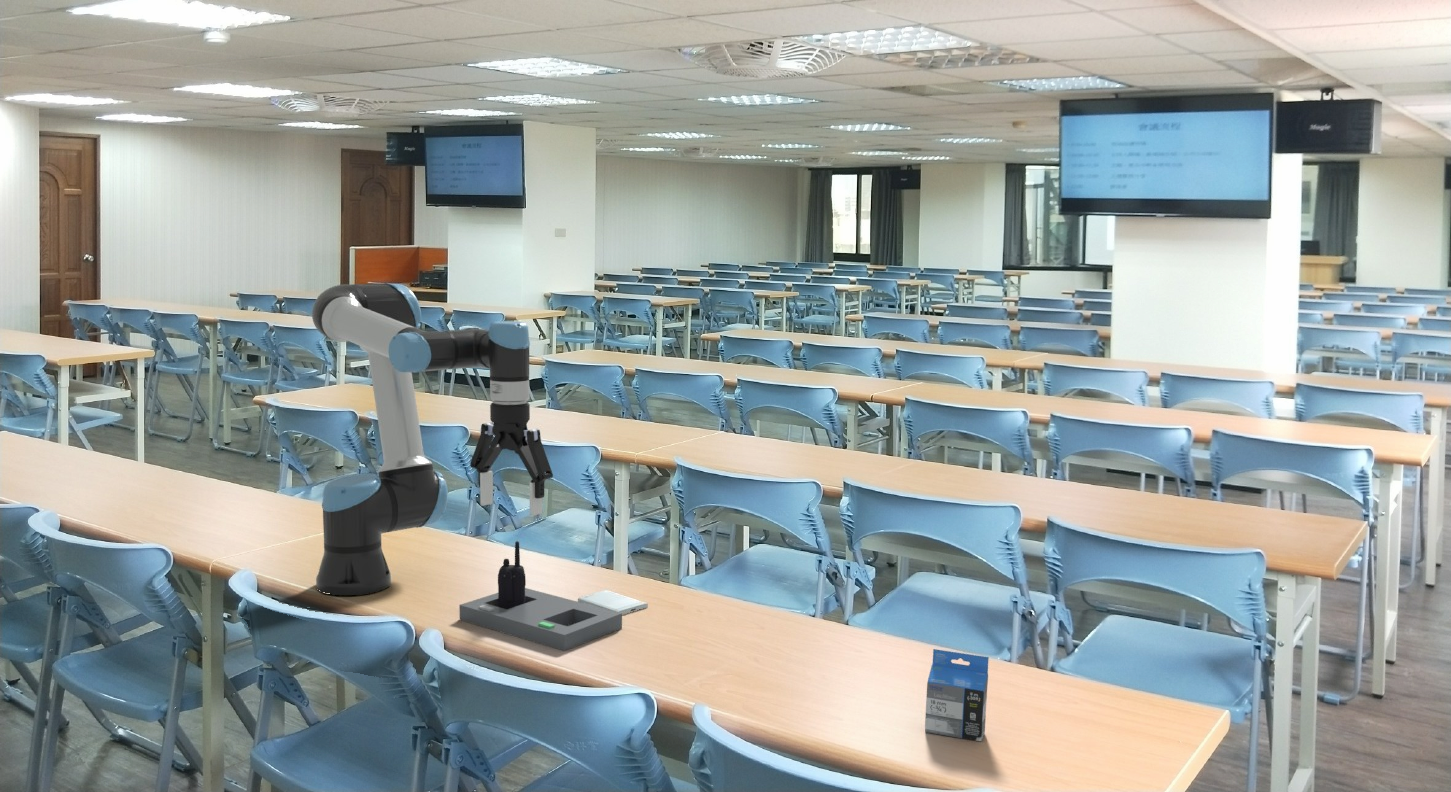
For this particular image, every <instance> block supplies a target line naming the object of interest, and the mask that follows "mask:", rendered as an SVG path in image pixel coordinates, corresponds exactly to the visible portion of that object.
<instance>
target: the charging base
mask: <svg viewBox="0 0 1451 792" xmlns="http://www.w3.org/2000/svg"><path fill="white" fill-rule="evenodd" d="M459 620H460V621H462V620H463V622H466V623H469V624H472V623H473V624H472V625H476V626H479V627H482V628H483V627H484V628H487V629H490V630H493V631H497V632H499V633H503V634H507V635H509V636H514V637H517V638H520V639H523V640H525V641H526V640H527V641H530V642H534V643H537V644H539V645H540V644H541V645H543V646H547V647H551V648H553V649H557V650H561V651H562V652H563V651H564V652H565V651H567V650H571V649H573V648H575V647H578V646H581V645H583V644H586V643H588V642H591V641H594V640H596V639H599V638H601V637H604V636H606V635H608V633H609V634H611V633H613V631H614V632H616V631H619V630H621V628H623V615H622V613H619V612H615V611H611V610H608V609H604V608H600V607H596V606H592V605H588V604H585V603H581V602H578V600H577V601H576V600H572V599H569V598H566V597H562V596H561V597H560V596H557V595H554V594H550V593H546V592H542V591H539V590H535V589H532V588H528V587H527V588H526V587H525V604H522V605H519V606H516V607H513V608H510V609H503V608H500V607H499V601H498V592H496V593H493V594H489V595H486V596H484V597H480V598H477V599H474V600H471V601H468V602H465V603H461V604H459Z"/></svg>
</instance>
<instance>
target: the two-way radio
mask: <svg viewBox="0 0 1451 792" xmlns="http://www.w3.org/2000/svg"><path fill="white" fill-rule="evenodd" d="M520 555H521V554H520V542H519V541H517V540H516V541H515V543H514V564H510V559H509V558H504V559H503V563H502V564H503V565H501V566H500V568H499V570H498V575H497V588H498V589H497V591H498V592H497V593H498V601H499V607H500V608H503V609H510V608H513V607H516V606H519V605H522V604H525V588H526V582H527V581H526V573H525V567H524V566H523V565H521V560H520V559H521V558H520V557H521V556H520Z"/></svg>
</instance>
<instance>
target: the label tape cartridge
mask: <svg viewBox="0 0 1451 792" xmlns="http://www.w3.org/2000/svg"><path fill="white" fill-rule="evenodd" d="M932 651H933V652H932V664H931V666H930V670H929V674H928V679H927V682H926V683H927V684H926V700H925V721H924V722H925V724H924V727H925V729H924V730H925V731H924V732H925V733H928V734H934V735H935V734H936V735H941V736H947V737H951V738H952V737H953V738H959V739H964V740H969V741H974V742H980V741H981V742H982V741H983V738H984V735H985V732H986V719H987V717H986V716H987V715H986V714H987V699H988V683H989V656H983V655H978V654H977V655H975V654H968V653H962V652H957V651H956V652H955V651H949V650H944V649H943V650H942V649H937V648H936V649H935V648H933V650H932ZM953 660H954V661H959V660H962V661H963V662H966V663H967V662H968V663H969V664H968V665H967V664H961V663H955V662H952V661H953Z"/></svg>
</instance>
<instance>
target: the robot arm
mask: <svg viewBox="0 0 1451 792" xmlns="http://www.w3.org/2000/svg"><path fill="white" fill-rule="evenodd" d="M311 318H312V321H313V325H314V327H315V328H316V330H317V331H318V332H319V333H320V334H321V335H323V336H324V337H326V338H329V339H330V340H333V341H334V342H339V343H344V342H350V343H353V344H355V345H357V346H359V348H360V350H361V351H363V352H365V353H366V354H367V356H368V363H369V371H370V375H371V376H370V377H371V382H372V389H373V396H374V402H375V404H374V405H375V410H376V417H377V423H378V430H379V437H380V444H381V451H382V458H383V464H382V465H381V467H380V468H379V469H378V471H377V472H378V473H372V472H363V473H362V472H361V473H358V474H357V473H353V474H348V475H346V474H345V475H344V476H340V477H337V478H335V479H332V480H330V481H329V482H328V483H327V484H326V485H325V486H324V487H323V491H322V501H321V507H322V523H323V526H322V527H323V548H324V549H323V550H324V551H323V556H322V559H321V561H320V566H319V569H318V574H316V581H315V583H316V586H315V588H316V587H317V588H316V590H317V589H318V590H320V591H321V592H325V593H330V594H332V595H331V596H335V595H356V596H362V595H364V594H365V595H369V593H370V594H374V592H375V593H377V592H378V593H379V592H380V590H381V591H383V590H386V589H387V588H389V587H390V586H391V582H392V581H391V580H392V578H391V577H392V576H391V571H390V569H389V565H388V563H387V559H386V557H385V555H384V552H383V548H382V534H386V533H391V532H397V531H402V530H408V529H413V528H417V529H418V528H422V527H425V526H428V525H433V524H435V523H437V522H439V521H440V520H441V518H442V517H443V515H444V512H445V511H446V508H447V506H448V499H449V497H448V494H449V492H448V485H447V482H446V479H444V476H443V474H442V473H441V472H440V471H437V470H434V467H433V462H432V461H431V460H429V459H428V458H426V456H425V453H424V447H423V441H422V440H423V439H422V433H421V426H420V425H421V424H420V421H419V413H418V405H417V399H416V392H415V387H414V381H413V374H418V373H421V372H432V371H445V370H459V369H470V368H471V369H473V368H482V369H484V368H485V369H489V384H490V385H489V392H490V395H489V398H490V400H491V401H493V402H491V403H490V405H489V412H490V413H489V416H490V422H486V423H482V424H481V425H480V436H479V438H478V441H477V443H476V446H475V449H474V452H473V455H472V458H471V460H470V463H469V464H470V465H469V466H470V468H472V469H473V468H474V469H475V470H476V471H477V474H478V476H477V477H478V487H479V488H480V490H479V494H480V495H479V497H480V498H479V501H480V506H482V507H483V506H488V505H492V504H493V505H494V471H492V470H493V468H492V466H493V465H494V463H495V461H496V460H497V459H498V457H499V455H500V454H501V452H502V451H503V450H509V451H512V452H514V453H515V454H517V455H518V456H519V459H520V460H521V462H522V464H523V466H524V467H525V469H526V470H527V472H528V474H529V476H530V477H531V480H530V481H529V484H528V485H529V516H531V517H533V516H537V515H541V514H543V498H545V482H546V480H549V479H552V478H553V477H554V475H553V471H552V468H551V466H550V462H549V459H548V457H547V454H546V451H545V449H544V446H543V443H542V438H541V430H540V429H539V428H533V429H528V425H527V424H528V422H529V421H530V417H531V416H530V415H531V414H530V412H531V411H530V409H531V407H530V403H529V402H528V401H529V400H530V398H531V397H530V396H531V395H530V346H531V342H530V336H529V334H530V333H529V326H528V324H527V323H525V322H524V321H512V320H510V321H509V320H506V321H505V320H503V321H493V322H491V323H489V328H488V329H482V328H480V327H465V328H464V327H463V328H461V329H455V330H437V331H436V330H434V331H426V330H423V329H420V328H421V322H422V310H421V306H420V303H419V301H418V298H417V297H416V295H415V294H414V292H413V291H412V290H411V289H410V288H409V287H407V286H406V285H404V284H401V283H400V284H398V283H389V282H385V283H384V282H383V283H359V284H348V283H346V284H345V283H344V284H343V283H342V284H338V285H333V286H332V287H331V286H330V287H329V288H327V289H325V290H324V291H323V292H321V293H320V294H319V295H318V297H317V298H316V299H315V301H314V303H313V306H312V310H311ZM318 590H317V591H318ZM321 592H320V593H321Z"/></svg>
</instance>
